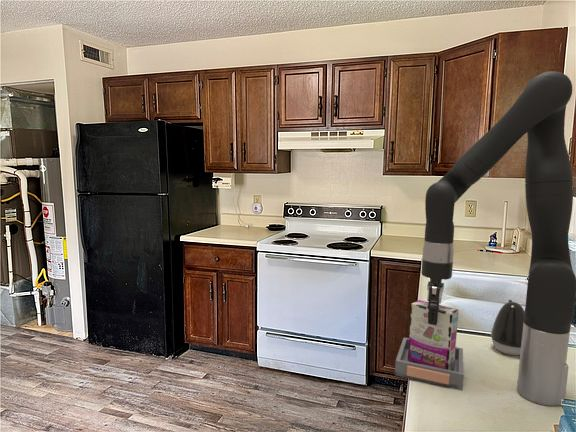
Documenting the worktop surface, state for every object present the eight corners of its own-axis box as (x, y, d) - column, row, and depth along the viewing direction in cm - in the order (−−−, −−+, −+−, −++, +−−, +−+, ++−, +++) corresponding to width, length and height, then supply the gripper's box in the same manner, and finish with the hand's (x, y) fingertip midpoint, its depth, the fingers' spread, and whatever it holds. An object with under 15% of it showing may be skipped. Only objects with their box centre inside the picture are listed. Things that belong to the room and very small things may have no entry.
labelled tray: (461, 362, 112) (462, 348, 112) (461, 391, 97) (463, 375, 97) (402, 350, 118) (403, 337, 118) (394, 376, 103) (395, 361, 103)
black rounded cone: (524, 347, 123) (529, 299, 121) (532, 362, 113) (537, 310, 112) (487, 341, 127) (492, 294, 125) (492, 355, 117) (497, 305, 115)
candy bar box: (454, 369, 106) (459, 309, 104) (447, 375, 102) (452, 313, 100) (414, 354, 114) (418, 298, 112) (406, 360, 110) (410, 302, 108)
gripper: (452, 266, 96) (447, 330, 98) (453, 255, 109) (449, 312, 111) (419, 262, 99) (415, 325, 101) (424, 252, 112) (421, 308, 114)
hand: (433, 318), depth 106 cm, fingers open, 8 cm apart
